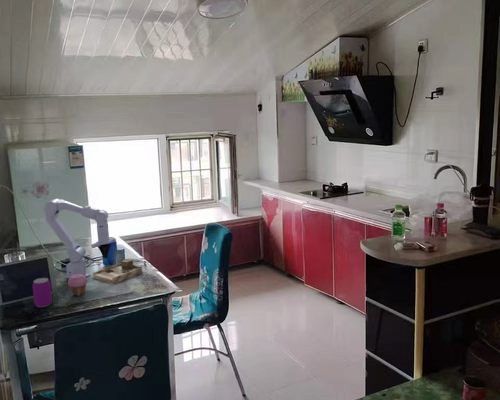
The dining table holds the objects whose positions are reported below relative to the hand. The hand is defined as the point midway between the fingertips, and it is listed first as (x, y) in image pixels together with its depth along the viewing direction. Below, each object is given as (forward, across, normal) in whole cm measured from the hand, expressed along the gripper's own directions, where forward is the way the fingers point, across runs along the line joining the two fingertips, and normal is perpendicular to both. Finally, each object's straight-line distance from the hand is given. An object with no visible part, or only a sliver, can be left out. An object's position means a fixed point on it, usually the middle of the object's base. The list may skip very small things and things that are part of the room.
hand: (105, 257), depth 269 cm
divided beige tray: (+10, +3, -6) cm, 12 cm away
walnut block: (+8, +10, -6) cm, 14 cm away
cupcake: (+10, -25, -10) cm, 29 cm away
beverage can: (+10, -42, -8) cm, 44 cm away
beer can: (+10, +12, +12) cm, 19 cm away
